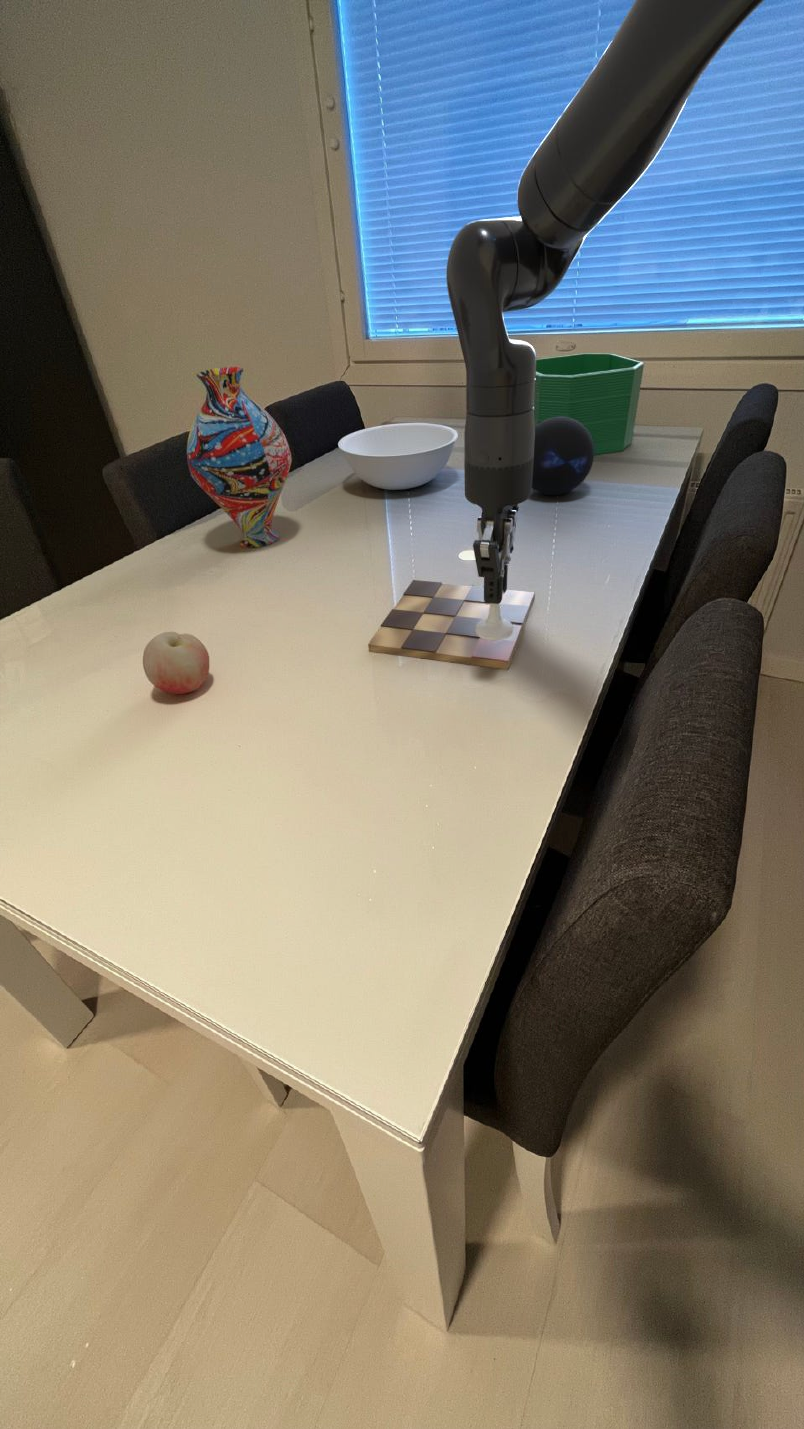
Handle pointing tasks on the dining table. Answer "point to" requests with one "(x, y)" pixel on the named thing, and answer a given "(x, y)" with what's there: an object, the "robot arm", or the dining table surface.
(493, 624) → the chess piece
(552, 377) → the planter
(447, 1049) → the dining table surface
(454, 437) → the bowl
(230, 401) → the vase
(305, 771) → the dining table surface
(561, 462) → the decorative sphere
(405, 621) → the game board
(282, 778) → the dining table surface
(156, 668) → the fruit
